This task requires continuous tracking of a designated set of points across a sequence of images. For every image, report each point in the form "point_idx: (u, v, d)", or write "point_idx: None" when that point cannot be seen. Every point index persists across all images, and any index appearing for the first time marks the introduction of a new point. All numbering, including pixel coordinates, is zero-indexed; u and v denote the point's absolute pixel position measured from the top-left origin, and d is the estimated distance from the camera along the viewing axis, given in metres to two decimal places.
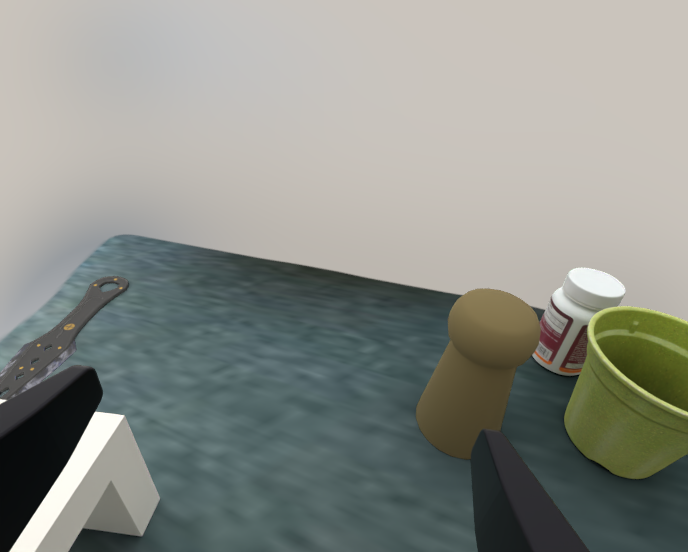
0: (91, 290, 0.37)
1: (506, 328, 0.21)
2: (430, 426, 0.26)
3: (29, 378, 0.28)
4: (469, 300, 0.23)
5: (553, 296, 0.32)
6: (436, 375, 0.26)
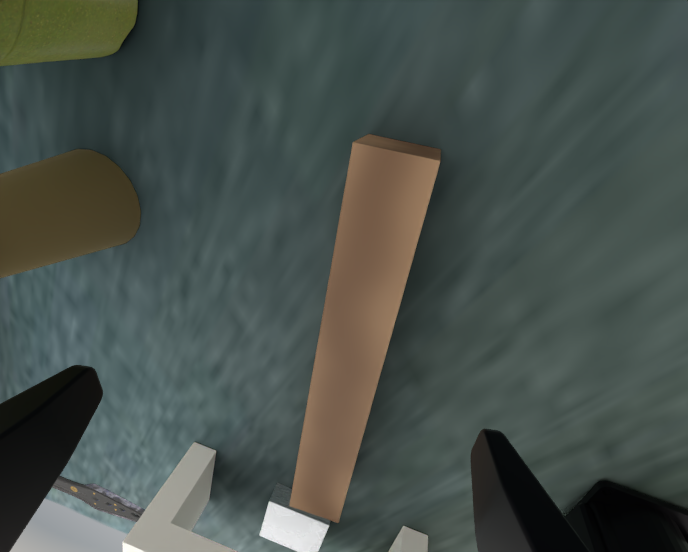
0: None
1: None
2: None
3: (122, 505, 0.38)
4: None
5: None
6: None
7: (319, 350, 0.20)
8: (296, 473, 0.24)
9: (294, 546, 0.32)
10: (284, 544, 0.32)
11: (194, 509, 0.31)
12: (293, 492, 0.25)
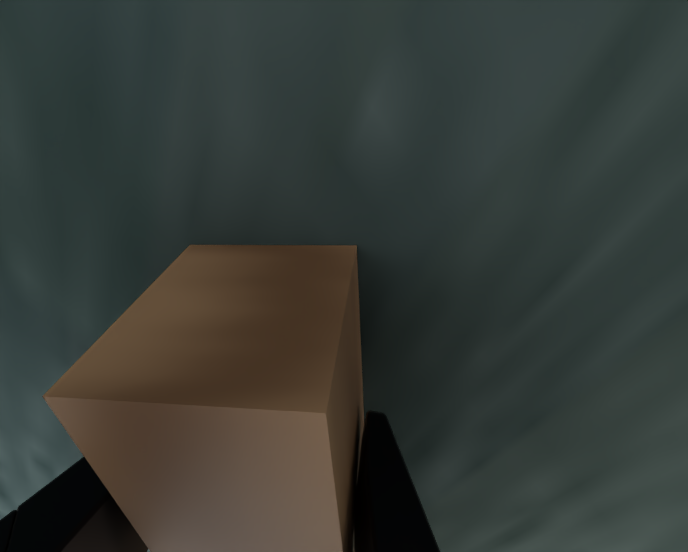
0: None
1: None
2: None
3: None
4: None
5: None
6: None
7: None
8: None
9: None
10: None
11: None
12: None
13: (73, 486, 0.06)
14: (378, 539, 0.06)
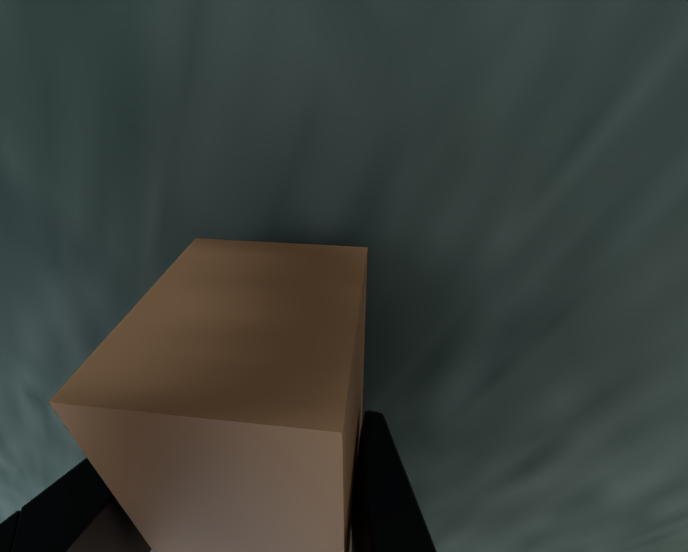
0: None
1: None
2: None
3: None
4: None
5: None
6: None
7: None
8: None
9: None
10: None
11: None
12: None
13: (77, 487, 0.06)
14: (374, 538, 0.06)
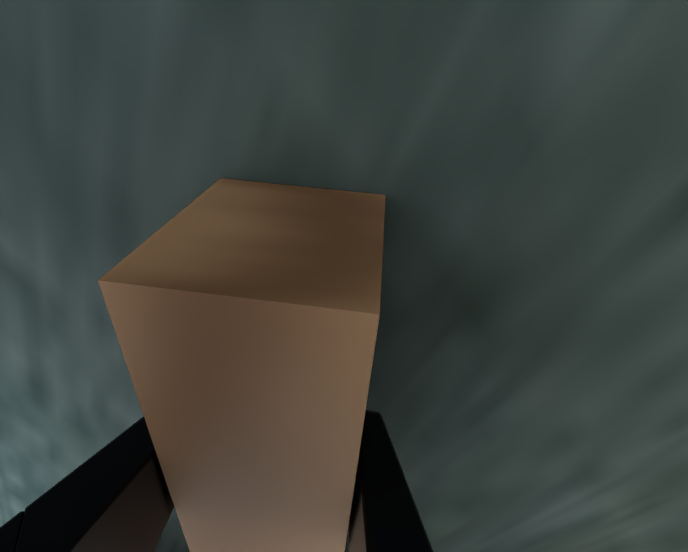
0: None
1: None
2: None
3: None
4: None
5: None
6: None
7: None
8: None
9: None
10: None
11: None
12: None
13: (80, 487, 0.06)
14: (371, 538, 0.06)
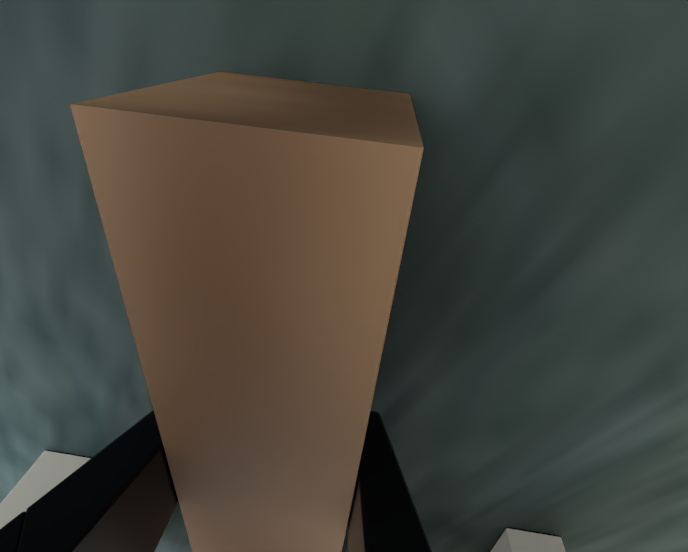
0: None
1: None
2: None
3: None
4: None
5: None
6: None
7: None
8: None
9: None
10: None
11: None
12: None
13: (82, 487, 0.06)
14: (369, 538, 0.06)
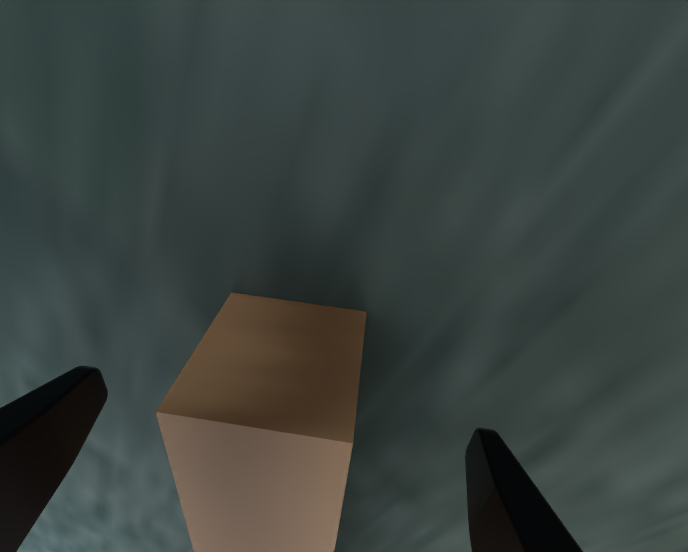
0: None
1: None
2: None
3: None
4: None
5: None
6: None
7: None
8: None
9: None
10: None
11: None
12: None
13: None
14: None
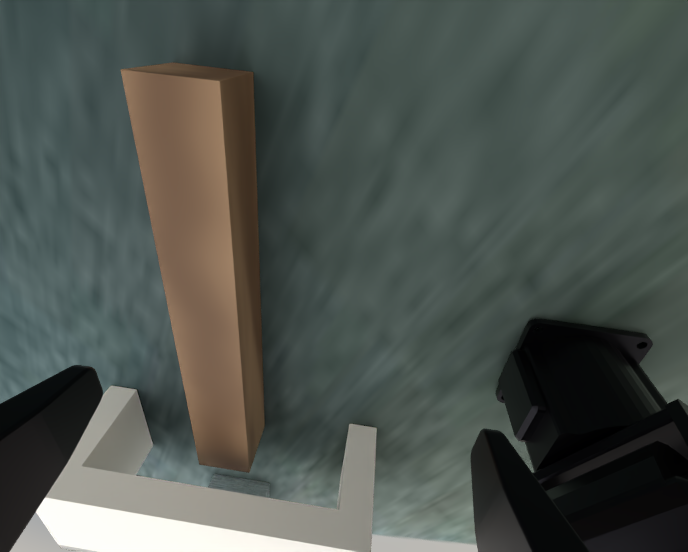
0: None
1: None
2: None
3: None
4: None
5: None
6: None
7: (171, 309, 0.19)
8: (194, 433, 0.24)
9: None
10: None
11: (126, 453, 0.28)
12: (198, 451, 0.25)
13: None
14: None
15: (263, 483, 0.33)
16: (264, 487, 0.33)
